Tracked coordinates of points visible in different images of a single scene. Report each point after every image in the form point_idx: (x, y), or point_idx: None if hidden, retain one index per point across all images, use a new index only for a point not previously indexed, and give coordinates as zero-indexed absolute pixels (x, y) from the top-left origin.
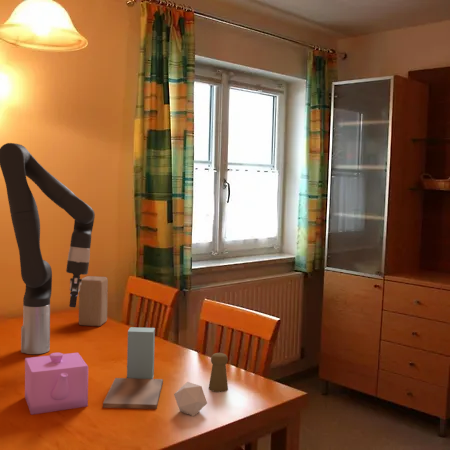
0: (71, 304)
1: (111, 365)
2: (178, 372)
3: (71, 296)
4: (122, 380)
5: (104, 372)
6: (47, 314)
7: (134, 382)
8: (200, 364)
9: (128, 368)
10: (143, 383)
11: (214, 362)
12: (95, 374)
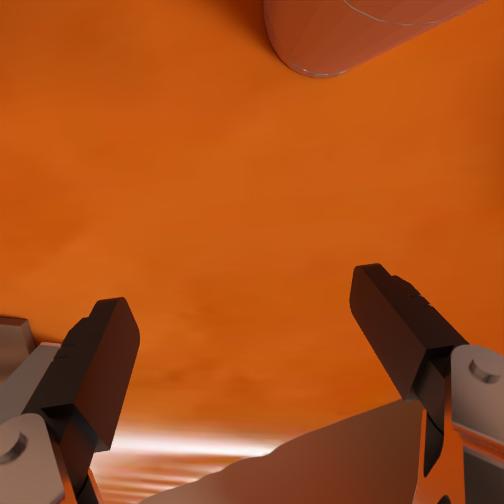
0: (76, 334)
1: (152, 307)
2: (123, 423)
3: (48, 414)
4: (7, 341)
5: (90, 293)
6: (347, 8)
7: (4, 362)
8: (178, 454)
9: (18, 370)
10: (5, 377)
11: None
12: (68, 272)
